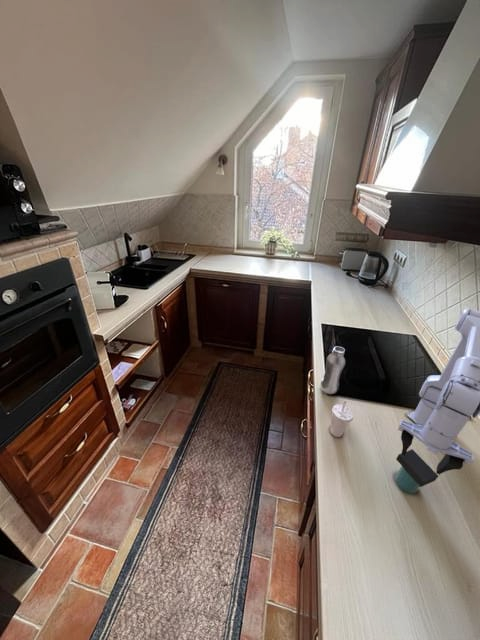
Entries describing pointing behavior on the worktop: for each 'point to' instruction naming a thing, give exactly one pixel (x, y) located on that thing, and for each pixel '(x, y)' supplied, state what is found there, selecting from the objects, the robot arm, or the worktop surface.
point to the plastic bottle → (333, 371)
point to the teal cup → (406, 481)
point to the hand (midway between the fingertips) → (420, 461)
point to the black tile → (417, 468)
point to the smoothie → (340, 419)
